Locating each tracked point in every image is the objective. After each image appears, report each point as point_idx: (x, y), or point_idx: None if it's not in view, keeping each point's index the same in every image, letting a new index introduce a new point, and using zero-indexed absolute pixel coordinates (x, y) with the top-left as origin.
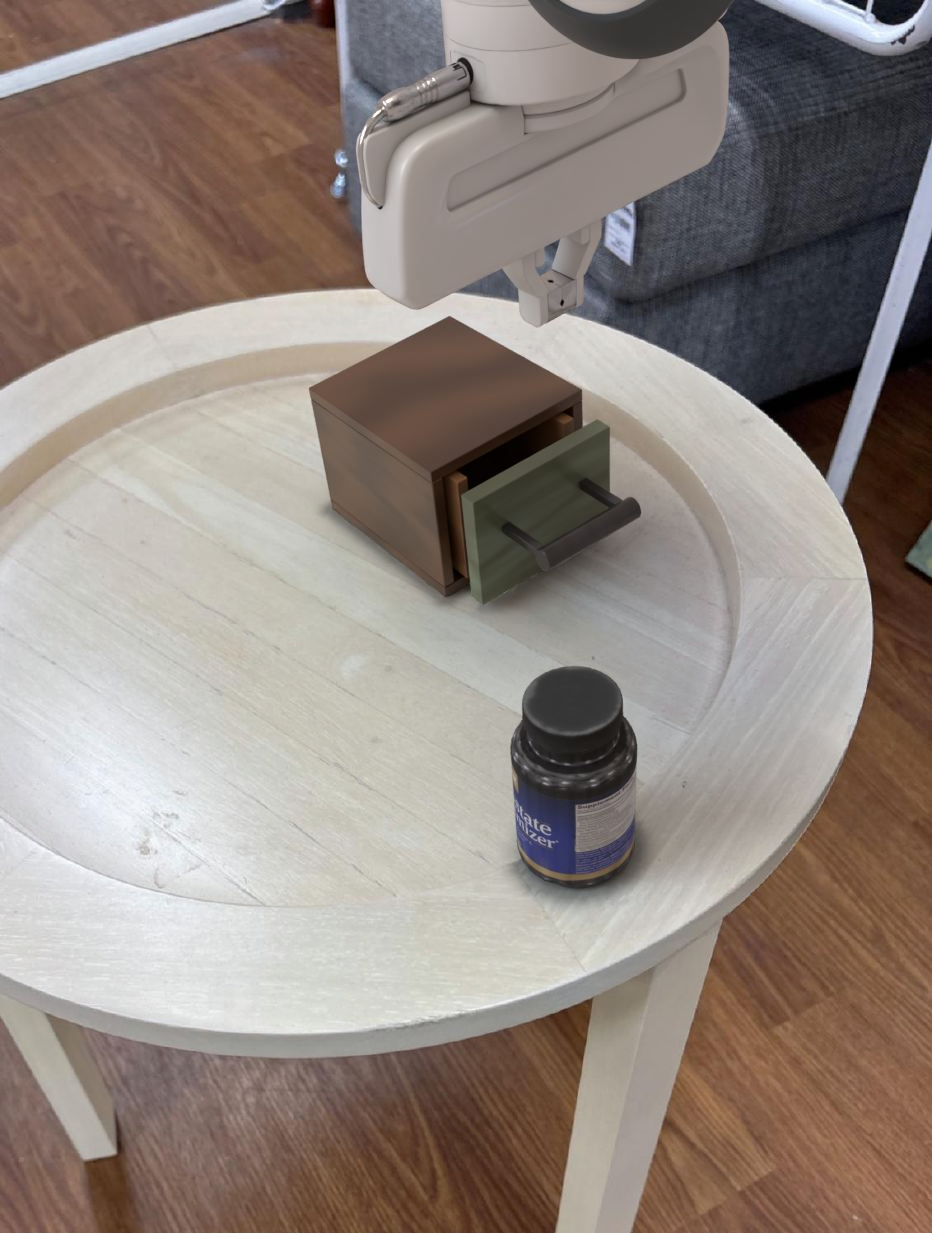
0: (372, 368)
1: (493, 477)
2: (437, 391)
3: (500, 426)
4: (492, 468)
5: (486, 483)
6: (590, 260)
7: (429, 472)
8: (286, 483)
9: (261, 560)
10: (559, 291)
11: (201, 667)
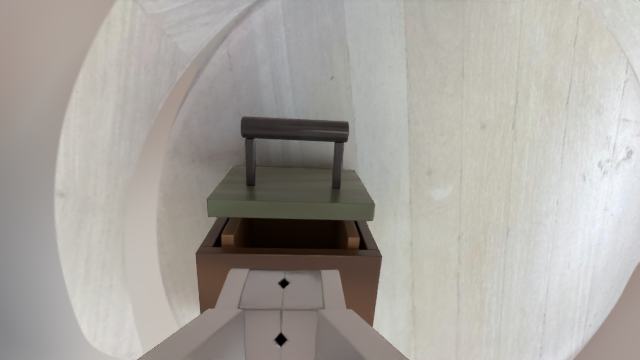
0: None
1: (337, 218)
2: None
3: (292, 263)
4: None
5: (346, 217)
6: (183, 329)
7: (381, 257)
8: None
9: (407, 307)
10: (288, 302)
11: (498, 255)
